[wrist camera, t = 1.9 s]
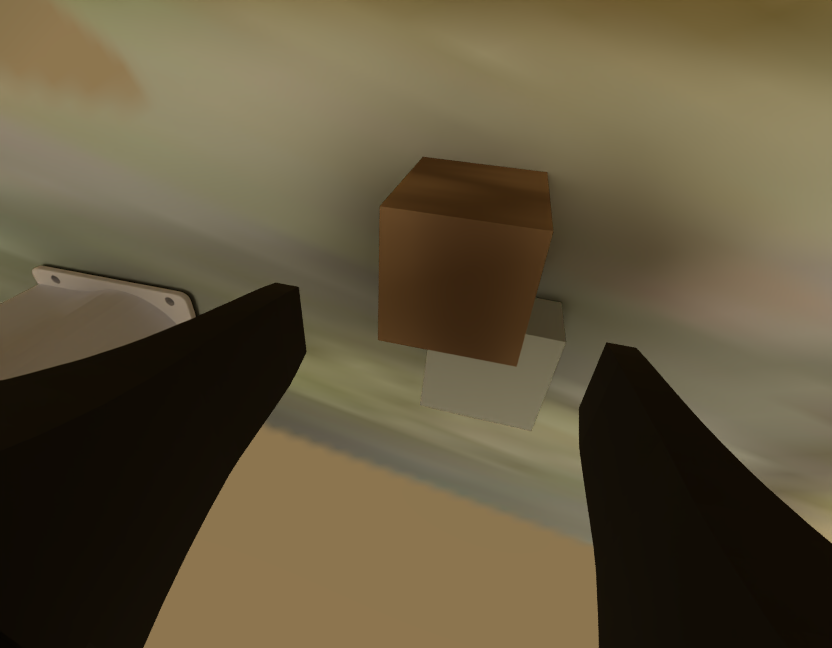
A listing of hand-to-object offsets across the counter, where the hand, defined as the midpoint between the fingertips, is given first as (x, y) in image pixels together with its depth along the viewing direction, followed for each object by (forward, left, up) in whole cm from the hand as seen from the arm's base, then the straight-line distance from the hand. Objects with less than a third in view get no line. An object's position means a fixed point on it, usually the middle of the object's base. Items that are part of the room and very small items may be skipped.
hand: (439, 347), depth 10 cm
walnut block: (0, 0, -8) cm, 8 cm away
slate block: (+1, -5, -8) cm, 10 cm away
